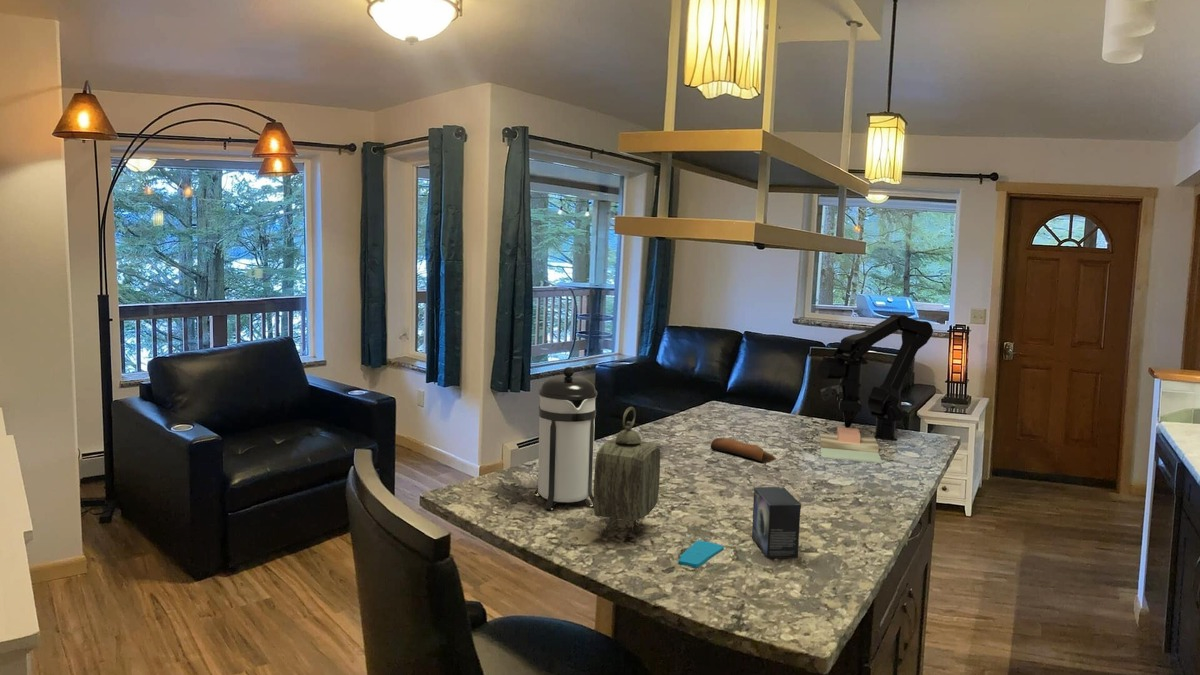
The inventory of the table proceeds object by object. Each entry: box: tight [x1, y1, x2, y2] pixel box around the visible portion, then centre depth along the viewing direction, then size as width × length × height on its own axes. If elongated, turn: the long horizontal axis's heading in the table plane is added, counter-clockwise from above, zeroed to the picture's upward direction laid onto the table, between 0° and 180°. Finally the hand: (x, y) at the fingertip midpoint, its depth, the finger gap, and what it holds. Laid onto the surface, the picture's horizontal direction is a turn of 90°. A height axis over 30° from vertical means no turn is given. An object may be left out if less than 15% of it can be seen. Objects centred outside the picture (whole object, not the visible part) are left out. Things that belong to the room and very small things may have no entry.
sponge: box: [677, 540, 724, 569], centre depth 142 cm, size 2×12×6 cm
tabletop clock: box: [593, 406, 661, 538], centre depth 152 cm, size 14×9×25 cm, turn 159°
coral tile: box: [836, 426, 861, 443], centre depth 230 cm, size 9×6×2 cm, turn 165°
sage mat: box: [820, 448, 883, 464], centre depth 218 cm, size 10×16×1 cm, turn 75°
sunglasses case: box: [710, 437, 778, 464], centre depth 216 cm, size 18×7×7 cm
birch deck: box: [819, 432, 880, 453], centre depth 229 cm, size 12×16×2 cm
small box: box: [751, 486, 802, 559], centre depth 147 cm, size 11×6×10 cm, turn 5°
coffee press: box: [533, 366, 598, 511], centre depth 170 cm, size 17×16×30 cm
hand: (846, 428), depth 237 cm, fingers closed
